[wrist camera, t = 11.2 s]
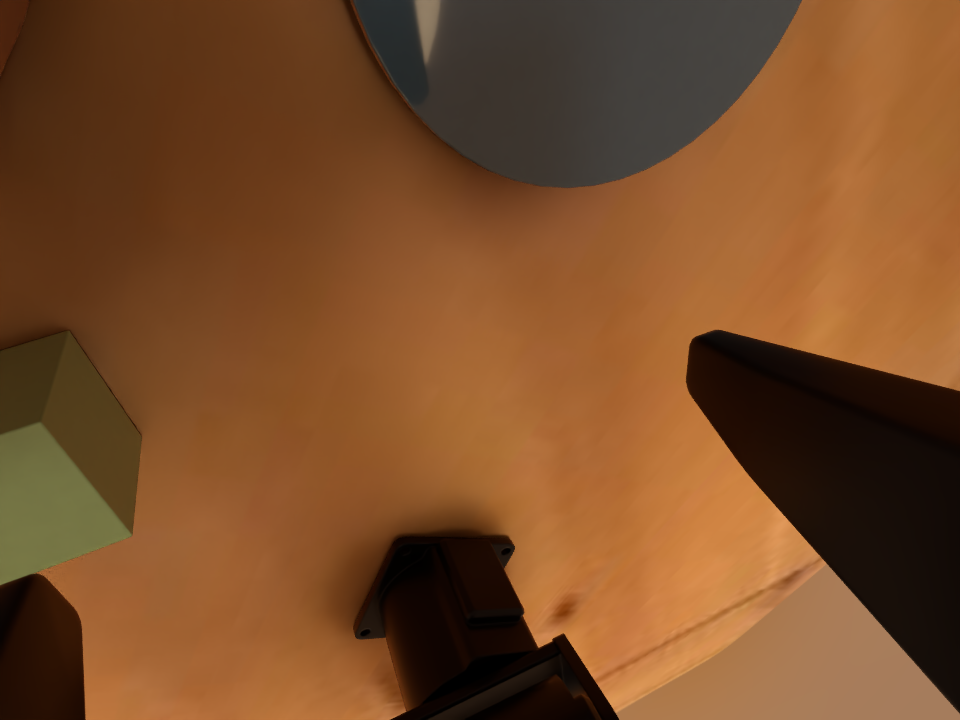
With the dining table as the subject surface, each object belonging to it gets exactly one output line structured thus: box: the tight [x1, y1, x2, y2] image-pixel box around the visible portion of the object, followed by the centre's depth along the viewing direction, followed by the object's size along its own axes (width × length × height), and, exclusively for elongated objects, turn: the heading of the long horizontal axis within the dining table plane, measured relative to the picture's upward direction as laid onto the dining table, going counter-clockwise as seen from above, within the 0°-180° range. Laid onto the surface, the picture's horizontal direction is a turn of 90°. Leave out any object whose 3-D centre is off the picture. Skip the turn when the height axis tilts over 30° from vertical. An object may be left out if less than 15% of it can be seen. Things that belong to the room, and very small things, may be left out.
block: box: [0, 331, 142, 585], centre depth 17 cm, size 4×4×4 cm
